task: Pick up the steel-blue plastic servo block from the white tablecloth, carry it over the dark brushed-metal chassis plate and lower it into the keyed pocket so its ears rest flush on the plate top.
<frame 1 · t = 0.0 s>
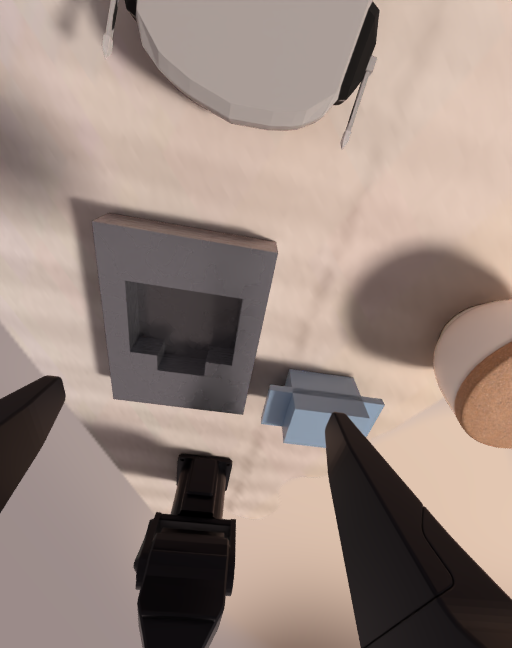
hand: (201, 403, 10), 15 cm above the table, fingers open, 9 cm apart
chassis: (189, 311, 25), on the table
lidded jar: (473, 332, 26), on the table
servo: (315, 389, 30), on the table
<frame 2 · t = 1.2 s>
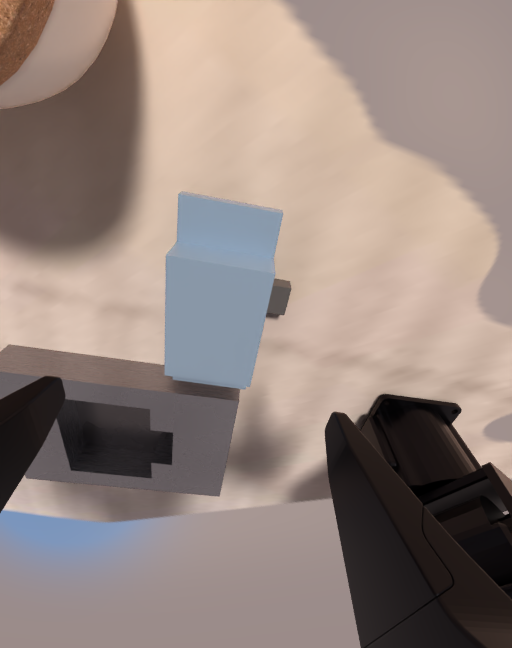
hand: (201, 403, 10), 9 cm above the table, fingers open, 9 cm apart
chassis: (120, 415, 24), on the table
servo: (224, 284, 18), on the table
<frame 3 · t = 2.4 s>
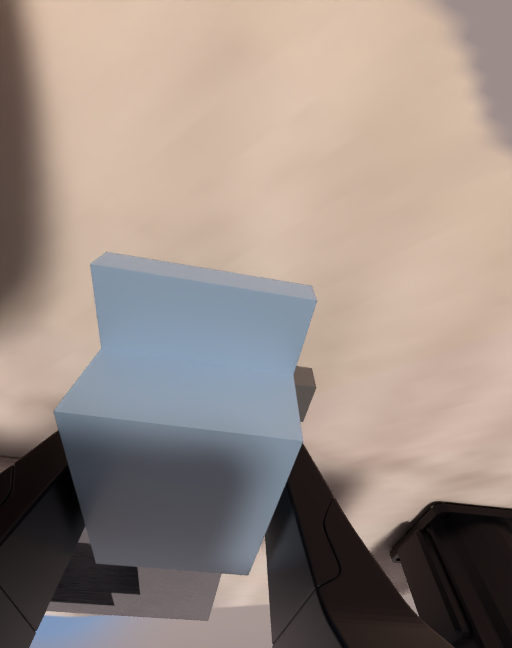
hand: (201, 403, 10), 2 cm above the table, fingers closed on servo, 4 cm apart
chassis: (70, 521, 17), on the table
servo: (208, 372, 11), on the table, touching gripper
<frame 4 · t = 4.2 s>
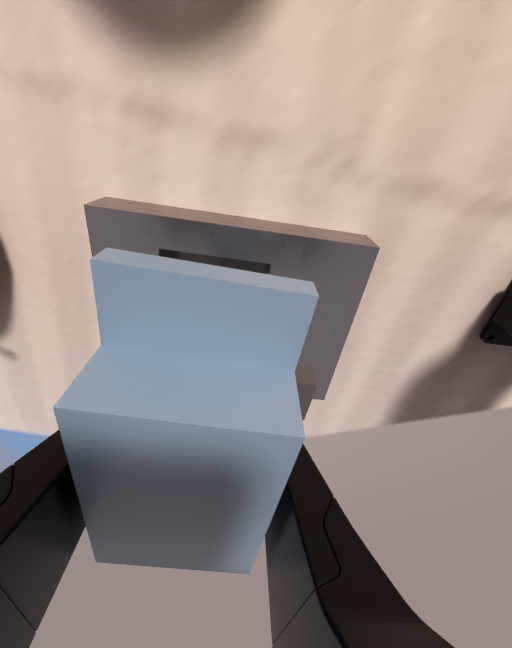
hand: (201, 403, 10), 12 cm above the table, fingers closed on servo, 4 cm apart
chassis: (216, 301, 21), on the table
servo: (208, 370, 11), point 10 cm above the table, touching gripper
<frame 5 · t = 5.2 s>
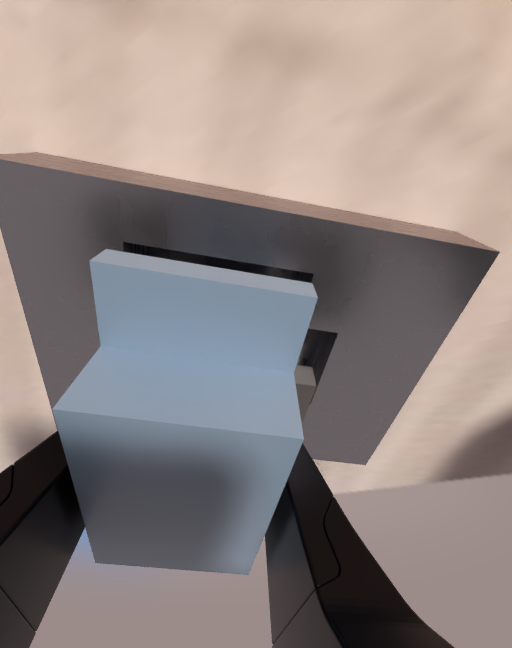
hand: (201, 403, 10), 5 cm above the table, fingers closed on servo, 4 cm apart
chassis: (217, 323, 14), on the table
servo: (208, 371, 11), point 4 cm above the table, touching gripper
when the fingers open (3 cm above the table, at t = 5.9 s): servo drops 1 cm, resting on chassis.
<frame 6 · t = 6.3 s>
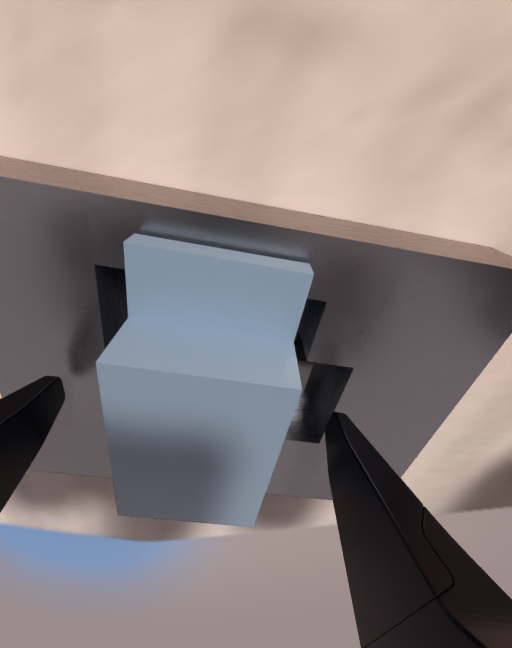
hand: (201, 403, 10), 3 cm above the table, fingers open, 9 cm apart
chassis: (212, 349, 12), on the table
servo: (215, 351, 12), resting on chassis
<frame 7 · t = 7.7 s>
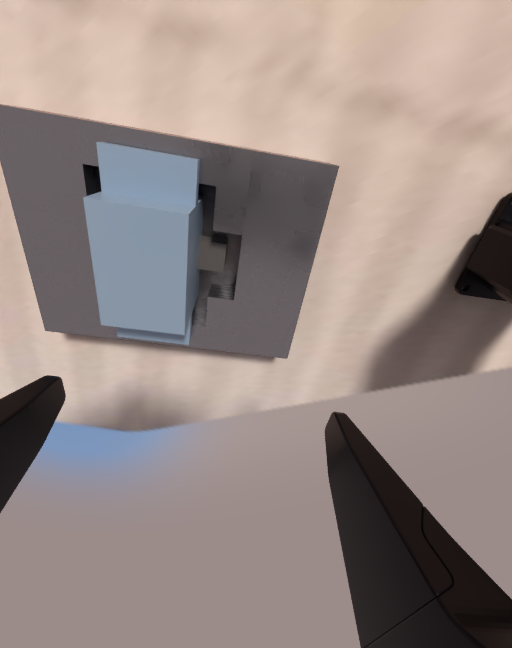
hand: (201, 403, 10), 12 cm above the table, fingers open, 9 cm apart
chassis: (164, 244, 19), on the table
servo: (165, 244, 18), resting on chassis
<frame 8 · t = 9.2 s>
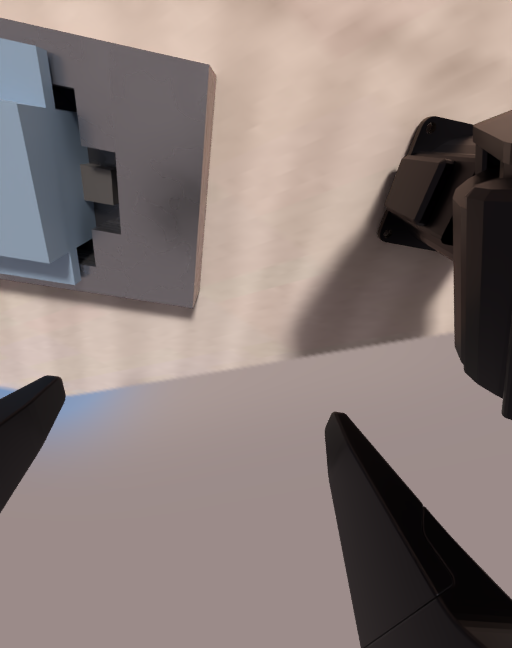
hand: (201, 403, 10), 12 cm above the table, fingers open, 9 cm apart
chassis: (50, 173, 17), on the table
servo: (51, 173, 17), resting on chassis
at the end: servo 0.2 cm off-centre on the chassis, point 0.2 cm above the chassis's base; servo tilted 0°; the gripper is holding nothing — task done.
